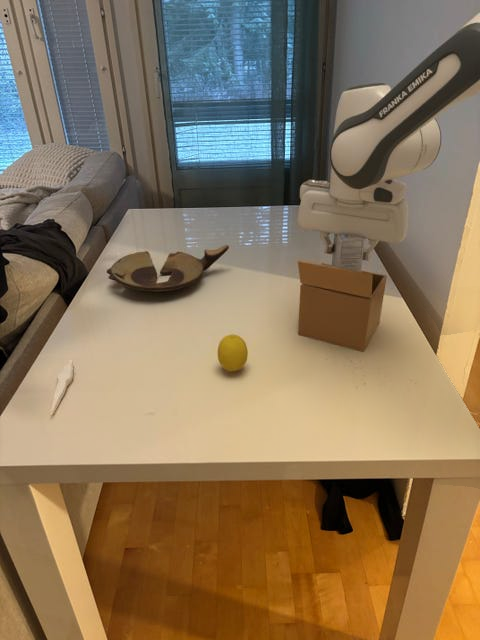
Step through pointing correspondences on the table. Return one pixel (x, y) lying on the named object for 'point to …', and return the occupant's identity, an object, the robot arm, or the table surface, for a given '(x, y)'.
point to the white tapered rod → (62, 384)
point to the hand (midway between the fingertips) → (347, 256)
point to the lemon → (232, 352)
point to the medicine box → (348, 252)
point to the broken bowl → (162, 270)
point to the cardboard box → (341, 314)
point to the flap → (335, 278)
